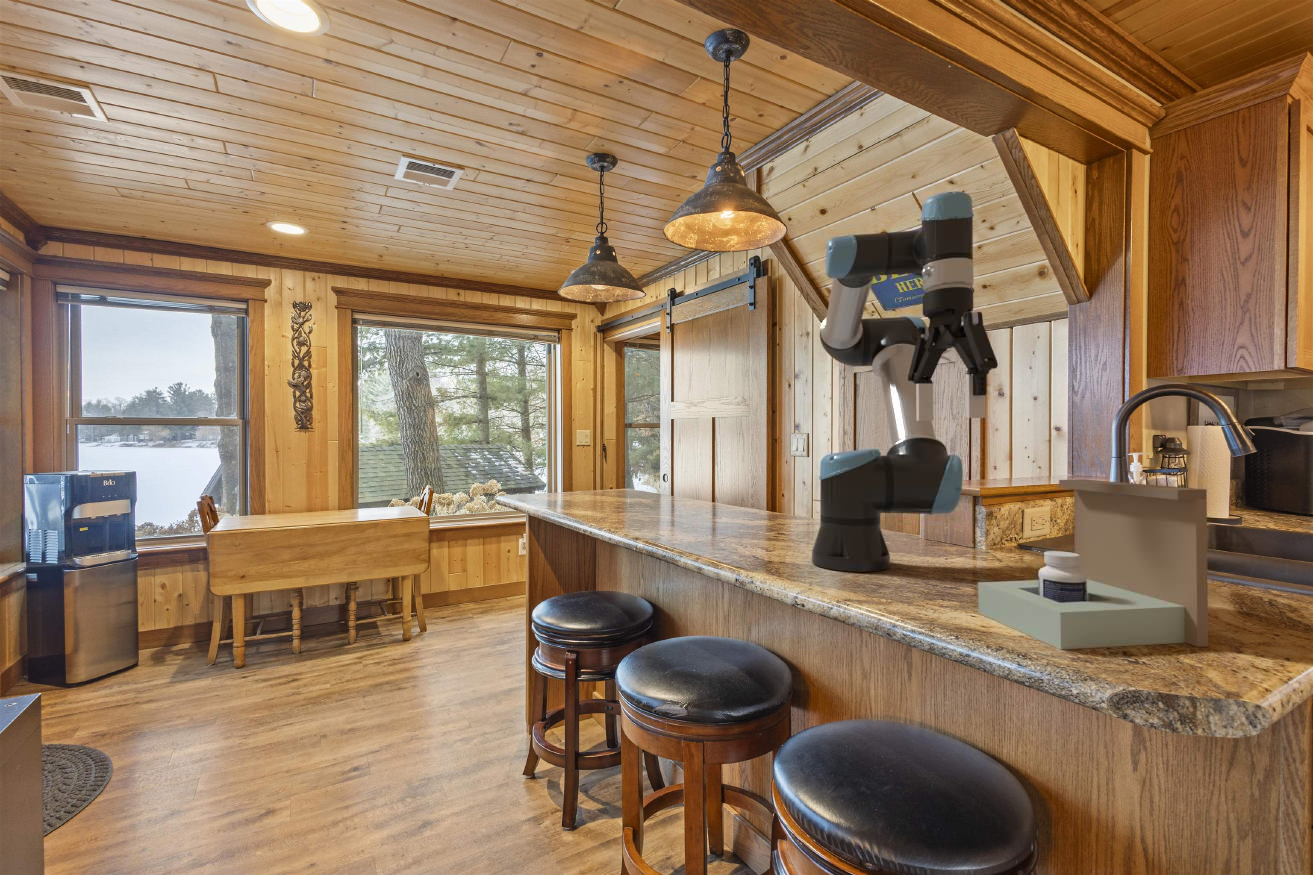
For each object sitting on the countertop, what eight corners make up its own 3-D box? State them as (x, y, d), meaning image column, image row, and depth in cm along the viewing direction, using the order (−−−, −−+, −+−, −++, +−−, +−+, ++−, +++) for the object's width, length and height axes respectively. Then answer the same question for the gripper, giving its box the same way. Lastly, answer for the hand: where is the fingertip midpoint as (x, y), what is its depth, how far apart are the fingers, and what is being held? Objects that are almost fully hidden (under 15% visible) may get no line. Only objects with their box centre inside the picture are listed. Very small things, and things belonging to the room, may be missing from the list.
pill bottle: (1097, 632, 76) (1095, 557, 77) (1053, 631, 77) (1051, 557, 77) (1072, 619, 82) (1071, 549, 82) (1031, 619, 82) (1030, 549, 82)
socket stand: (971, 610, 88) (970, 481, 88) (1084, 604, 90) (1082, 479, 90) (1070, 654, 70) (1069, 492, 70) (1208, 646, 72) (1206, 489, 72)
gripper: (887, 307, 109) (888, 421, 109) (976, 268, 84) (977, 416, 84) (925, 308, 110) (926, 421, 110) (1024, 269, 85) (1025, 416, 85)
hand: (948, 419), depth 97 cm, fingers open, 13 cm apart
